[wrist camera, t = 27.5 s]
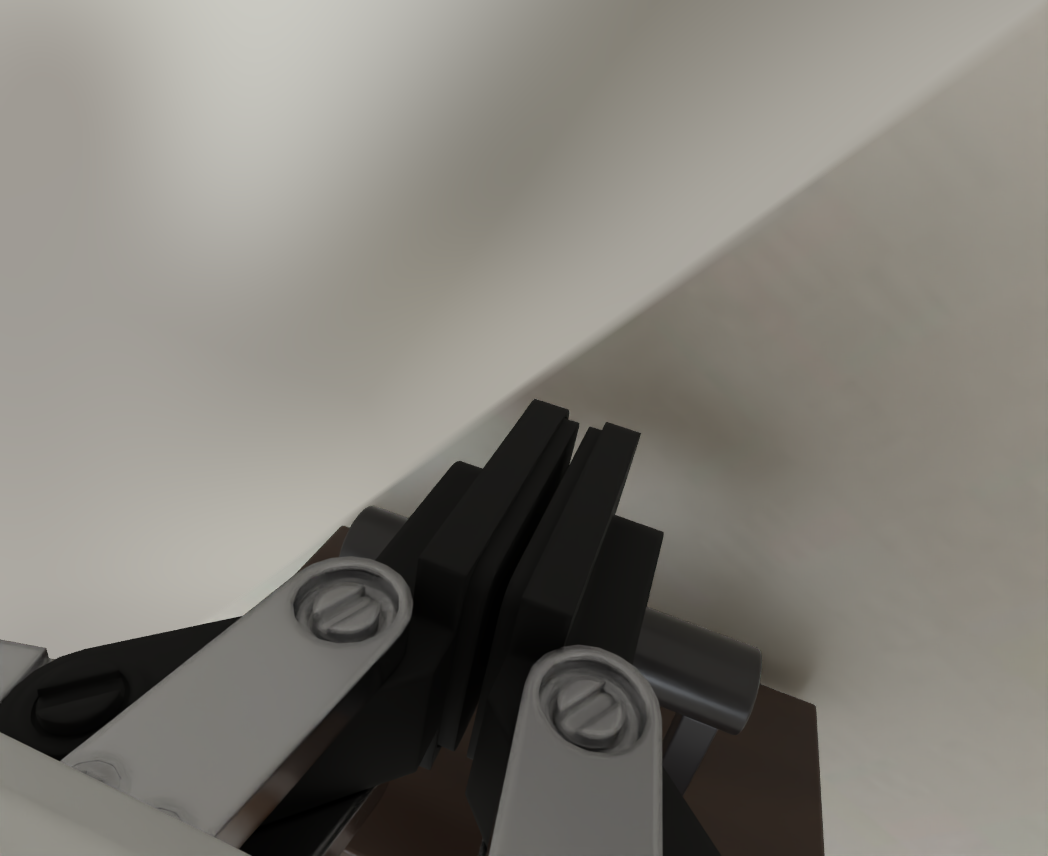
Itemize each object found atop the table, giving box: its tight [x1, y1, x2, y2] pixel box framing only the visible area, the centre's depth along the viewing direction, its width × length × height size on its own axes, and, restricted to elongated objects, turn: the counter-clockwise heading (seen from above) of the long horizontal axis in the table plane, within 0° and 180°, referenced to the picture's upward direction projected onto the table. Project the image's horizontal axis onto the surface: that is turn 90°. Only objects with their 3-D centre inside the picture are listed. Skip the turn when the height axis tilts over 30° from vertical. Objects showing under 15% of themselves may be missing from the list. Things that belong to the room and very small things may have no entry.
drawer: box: [297, 506, 824, 856], centre depth 17 cm, size 18×13×7 cm
